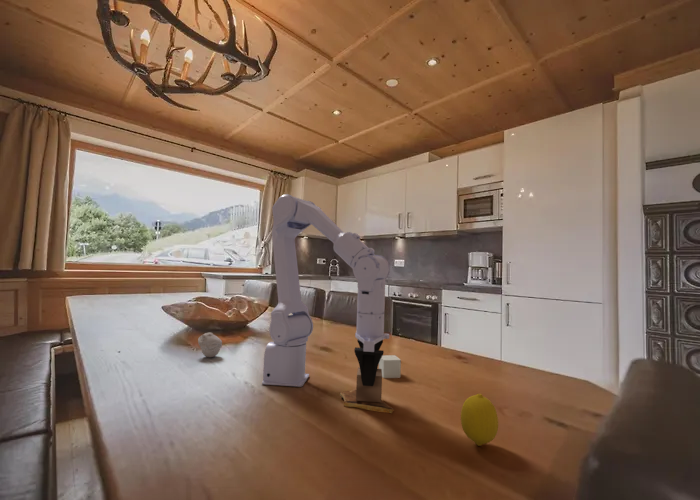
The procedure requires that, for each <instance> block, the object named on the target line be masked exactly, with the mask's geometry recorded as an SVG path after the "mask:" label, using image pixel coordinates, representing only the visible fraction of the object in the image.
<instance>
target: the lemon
mask: <svg viewBox="0 0 700 500" xmlns="http://www.w3.org/2000/svg"><path fill="white" fill-rule="evenodd" d="M497 412H498V411H497V410H496V406H495V405H494V404H493V402H492V401H491V400H490V399H488V397H486V396H484V395H483V394H482V393H477V394H474V395H471V396H470V395H469V397H467V398H466V399H465V400H464V402H463V404H462V406H461V411H460V423H461V427H462V430H463V432H464V434H465V435H466V436H467V438H468V439H469V440H470V441H472V442H474V443H475V445H476V446H478V447H481V446H483V445H485V444H488V443H490V442H492V441H493V440H495V438H496V436H497V433H498V429H499V418H498V413H497Z"/></svg>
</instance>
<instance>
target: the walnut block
mask: <svg viewBox="0 0 700 500" xmlns="http://www.w3.org/2000/svg"><path fill="white" fill-rule="evenodd" d="M382 388H383V377H382V369H379V368H377V372H376V377H375V382H374V385H373V386H363V384H362V379H361V372H360V367H357V372H356V389H355V390H356V401H367V402H381V400H382V392H383V391H382Z"/></svg>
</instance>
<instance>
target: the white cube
mask: <svg viewBox="0 0 700 500" xmlns="http://www.w3.org/2000/svg"><path fill="white" fill-rule="evenodd" d="M401 361H402V360H401V358H399V357H398V356H397V355H396V354H395V355H394V354H391V355H390V354H389V355H387V354H385V355H384V354H383V356H382V358H381V359H380V362H379V364H378V369H382V379H398V378H399V379H400V378H401V370H402V369H401V368H402V362H401Z"/></svg>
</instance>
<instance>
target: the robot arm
mask: <svg viewBox="0 0 700 500" xmlns="http://www.w3.org/2000/svg"><path fill="white" fill-rule="evenodd" d="M271 208H272V209H271V210H272V218H273V224H272V229H271V237H272V238H271V239H272V248H273V251H272V252H273V259H274V260H273V262H274V268H275V270H274V272H275V280H276V281H275V282H276V289H277V290H276V291H277V301H278V302H277V305H276V306H275V307H274V308H273V309H272V311H271V312H270V318H271V319H270V323H269V328H268V329H269V330H268V331H269V336H270V338H271V340H272V341H270V342H268V343H266V347H265V348H264V354H263V356H264V357H263V373H262V375H263V376H262V381H261V384H262V385H269V386H270V385H271V386H285V387H297V388H298V387H299V388H300V387H303V386H304V385H305V383H306V382H307V380H308V378H309V376H310V373H306V362H307V360H306V359H307V358H306V357H307V342H308V339H309V337H310V336H311V335H312V333H313V330H314V322H313V320H312V318H311V315H310V313H309V307H308V306H307V305H306V304H305V303H304V302H303V301H302V297H301V295H302V294H301V287H300V277H299V276H300V275H299V267H298V258H297V248H296V240H295V239H296V238H297V236H298V235H300V234H301V233H302V232H304V231H305V230H307V229H308V228H309V227H310V226H313V227H314V228H315V229H316V230H317V231H319V232H320V233H321V234H322V235H324V236H325V238H327V239H328V240H329V241H331V242H332V244H333V252H334V253H336V255H338V257H339V258H341V260H343V261H344V263H346V264H347V265H348V266H349V267H350V268H351V269H352V273H353V276H354V278H355V279H356V282H357V301H356V302H357V303H356V306H357V307H356V308H357V309H356V327H355V328H356V331H355V334H354V335H355V339H356V340H357V343H358V345H359V347H358V346H357V347H354V350H353V351H354V354H355V357H356V359H357V362H358V365H359V368H360V372H361V379H362V384H363V386H373V385H374V382H375V377H376V372H377V369H378V368H379V362H380V359H381V358H382V356H383V355H384V353H385V352H384V350H380V348H381V347H382V345H383V343H384V340H385V339H386V340H388V339H390V333H385V301H386V279H387V278H388V277H389V275H390V272H391V267H390V263H389V262H388V260H387V258H386V257H385V256H384V255H381V254H375V249H374V248H373V247H369V246H367V245H366V244H365V243H364V242H363V241H361V239H360V238H361V235H359V233H356V232H351V231H347V232H344V231H343V230H342V229H341V228H340V227H339V226H338V225H337V224H336V222H334V221H333V220H332V219H331V218H330V217H329V216H328V215H327V214H326V213H325V211H323V210H322V208H321V207H319V206H318V205H316V203H315V202H313V201H309V200H305V199H302V198H299V197H296V196H293V195H291V194H289V193H285V194H282V195H280V196H279V197H278V198H277V199H276V201H275V203H274V204H273V205H272V207H271Z"/></svg>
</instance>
